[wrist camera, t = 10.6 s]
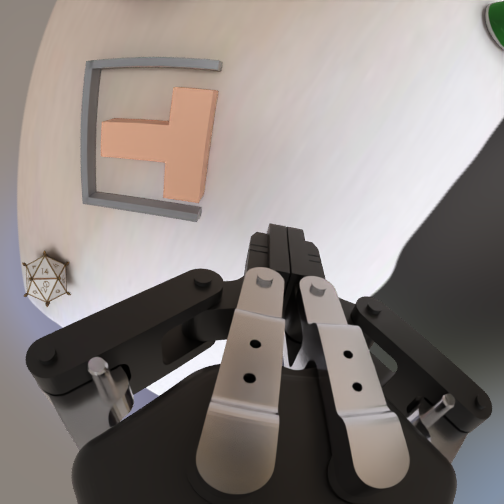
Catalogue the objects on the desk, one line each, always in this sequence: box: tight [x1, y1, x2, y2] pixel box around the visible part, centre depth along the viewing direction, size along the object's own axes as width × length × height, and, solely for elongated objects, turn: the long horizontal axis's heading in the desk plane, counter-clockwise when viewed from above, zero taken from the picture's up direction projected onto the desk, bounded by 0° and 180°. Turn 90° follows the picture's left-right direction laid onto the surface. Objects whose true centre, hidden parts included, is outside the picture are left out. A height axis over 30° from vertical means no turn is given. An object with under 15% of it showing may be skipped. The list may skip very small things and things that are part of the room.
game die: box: [22, 250, 71, 307], centre depth 37 cm, size 9×8×10 cm
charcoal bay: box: [81, 57, 223, 222], centre depth 29 cm, size 18×16×2 cm
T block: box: [101, 87, 218, 203], centre depth 28 cm, size 12×12×3 cm
